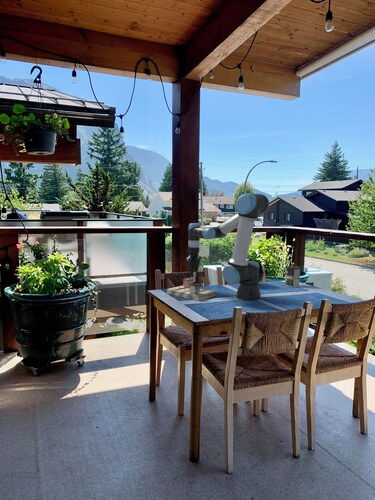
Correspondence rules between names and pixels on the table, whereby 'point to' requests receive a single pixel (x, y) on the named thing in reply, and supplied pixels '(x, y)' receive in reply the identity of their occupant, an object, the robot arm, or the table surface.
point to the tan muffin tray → (186, 293)
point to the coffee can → (292, 276)
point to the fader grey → (195, 288)
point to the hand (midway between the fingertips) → (193, 281)
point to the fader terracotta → (187, 282)
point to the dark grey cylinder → (259, 270)
